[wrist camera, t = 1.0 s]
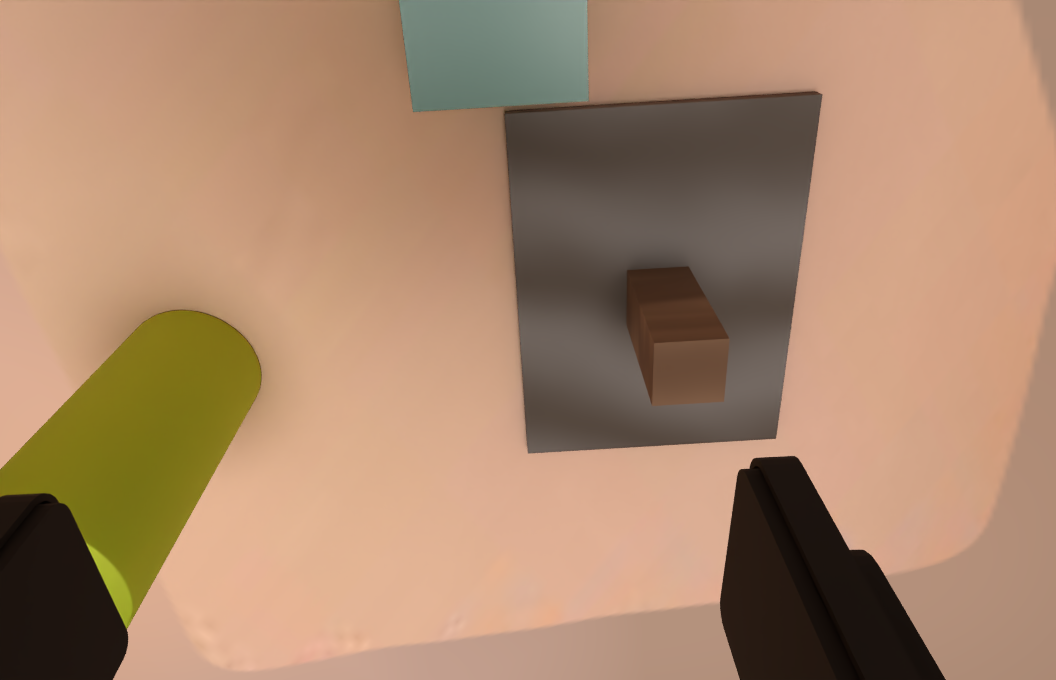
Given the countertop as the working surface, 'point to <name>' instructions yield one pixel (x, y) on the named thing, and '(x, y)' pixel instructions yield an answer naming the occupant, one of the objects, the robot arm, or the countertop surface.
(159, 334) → the soap dispenser
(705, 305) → the grey base plate
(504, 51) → the teal cuboid
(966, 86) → the countertop surface
